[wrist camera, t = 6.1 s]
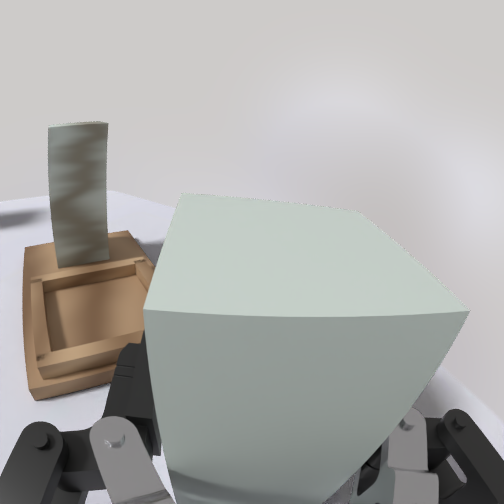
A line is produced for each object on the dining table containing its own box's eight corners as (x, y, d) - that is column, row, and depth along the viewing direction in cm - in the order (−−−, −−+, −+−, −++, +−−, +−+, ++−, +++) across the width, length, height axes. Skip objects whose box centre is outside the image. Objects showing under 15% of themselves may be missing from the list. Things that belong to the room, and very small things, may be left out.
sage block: (183, 527, 8) (142, 309, 3) (183, 438, 13) (181, 193, 8) (300, 521, 9) (470, 310, 4) (281, 438, 14) (358, 211, 9)
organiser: (34, 400, 12) (-36, 156, 7) (26, 256, 25) (15, 129, 20) (213, 349, 19) (234, 138, 14) (128, 238, 32) (130, 119, 27)
